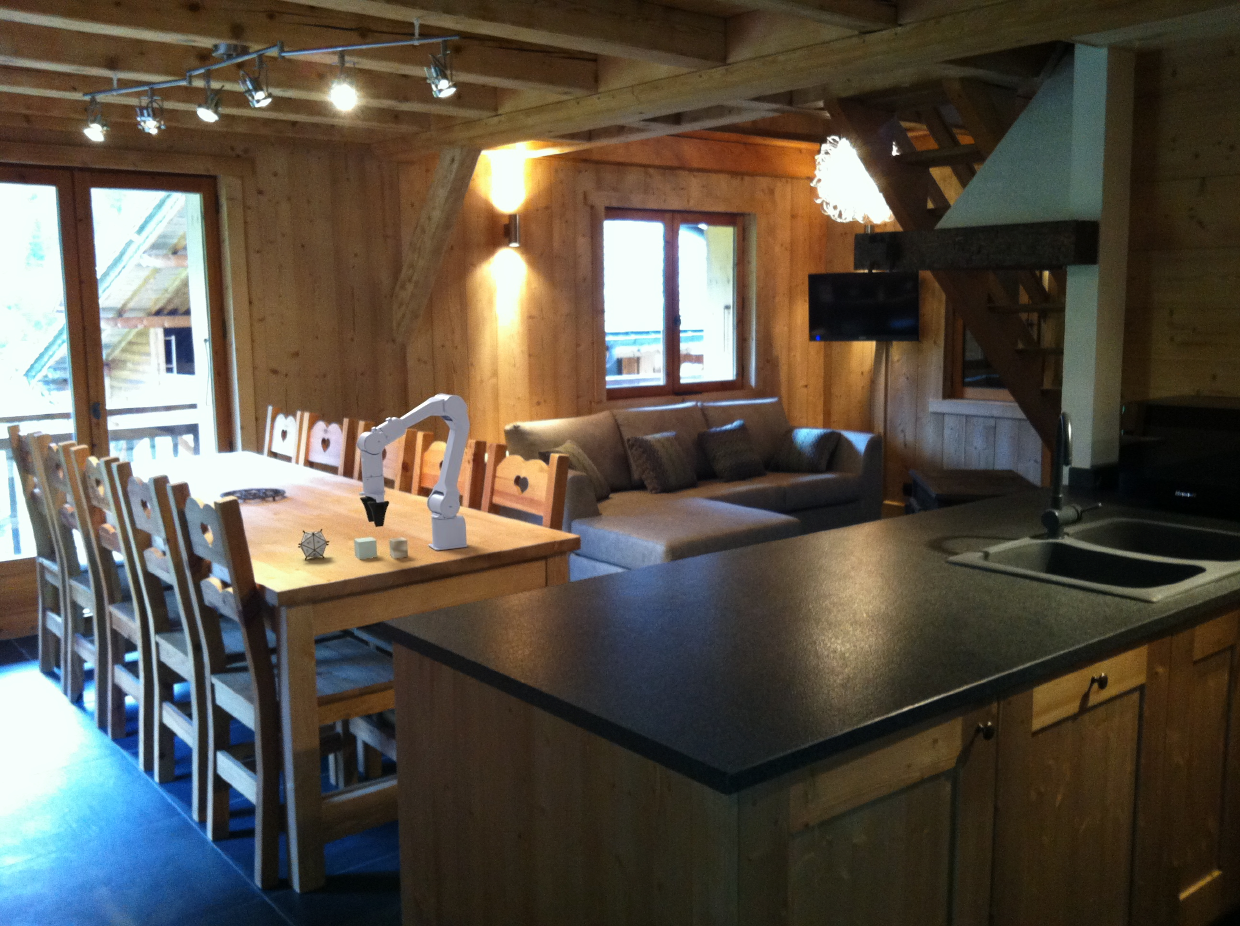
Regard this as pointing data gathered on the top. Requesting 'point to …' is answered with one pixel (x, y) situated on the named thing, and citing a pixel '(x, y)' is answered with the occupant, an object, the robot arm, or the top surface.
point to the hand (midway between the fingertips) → (375, 524)
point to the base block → (365, 548)
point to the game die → (313, 544)
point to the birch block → (398, 548)
